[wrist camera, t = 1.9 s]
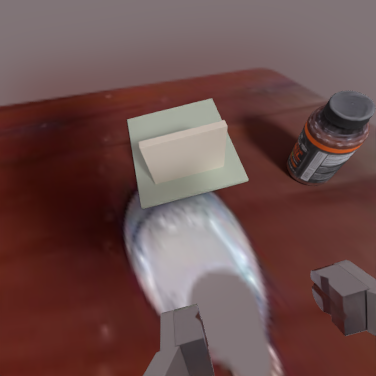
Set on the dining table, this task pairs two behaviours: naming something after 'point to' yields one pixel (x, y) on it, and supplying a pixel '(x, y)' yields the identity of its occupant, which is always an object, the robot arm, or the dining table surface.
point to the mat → (188, 185)
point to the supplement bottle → (330, 137)
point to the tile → (185, 152)
